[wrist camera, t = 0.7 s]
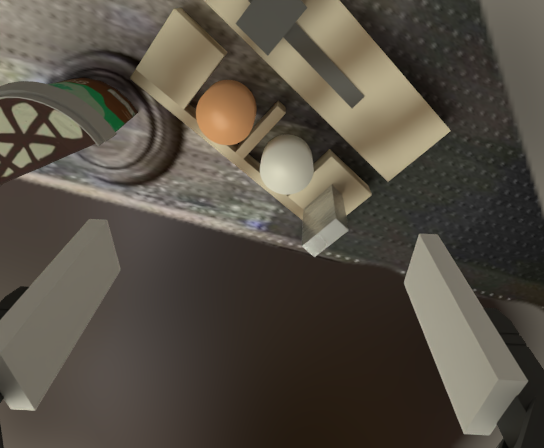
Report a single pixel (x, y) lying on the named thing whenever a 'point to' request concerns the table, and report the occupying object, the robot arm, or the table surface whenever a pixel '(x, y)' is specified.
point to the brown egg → (226, 112)
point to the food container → (55, 121)
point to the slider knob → (270, 21)
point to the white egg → (286, 164)
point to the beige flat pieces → (304, 93)
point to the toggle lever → (324, 221)
